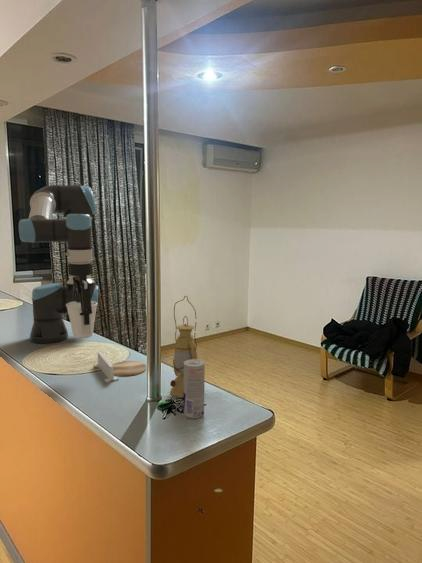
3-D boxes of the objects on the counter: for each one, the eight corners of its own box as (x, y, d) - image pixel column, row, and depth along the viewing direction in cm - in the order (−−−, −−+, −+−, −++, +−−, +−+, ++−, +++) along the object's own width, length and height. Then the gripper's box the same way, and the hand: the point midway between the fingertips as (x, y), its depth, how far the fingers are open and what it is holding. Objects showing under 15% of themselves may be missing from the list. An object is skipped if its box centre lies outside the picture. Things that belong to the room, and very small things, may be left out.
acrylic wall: (93, 366, 145) (93, 352, 144) (104, 364, 147) (104, 350, 146) (106, 382, 131) (105, 367, 130) (118, 380, 133) (117, 365, 132)
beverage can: (208, 414, 111) (209, 362, 109) (194, 422, 107) (194, 367, 105) (193, 407, 115) (194, 356, 112) (179, 414, 111) (179, 362, 108)
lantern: (160, 389, 126) (159, 294, 121) (185, 381, 133) (186, 290, 128) (182, 403, 117) (183, 301, 112) (209, 394, 123) (210, 297, 118)
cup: (89, 341, 129) (88, 307, 127) (61, 339, 131) (59, 306, 129) (103, 332, 139) (102, 301, 137) (77, 330, 141) (75, 299, 139)
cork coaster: (103, 366, 145) (103, 364, 145) (138, 360, 151) (138, 358, 151) (114, 379, 134) (114, 377, 134) (151, 371, 140) (151, 370, 140)
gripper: (62, 259, 139) (65, 323, 142) (75, 267, 120) (78, 340, 123) (84, 258, 142) (86, 320, 146) (100, 266, 123) (103, 337, 127)
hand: (82, 329), depth 135 cm, fingers closed on cup, 9 cm apart
